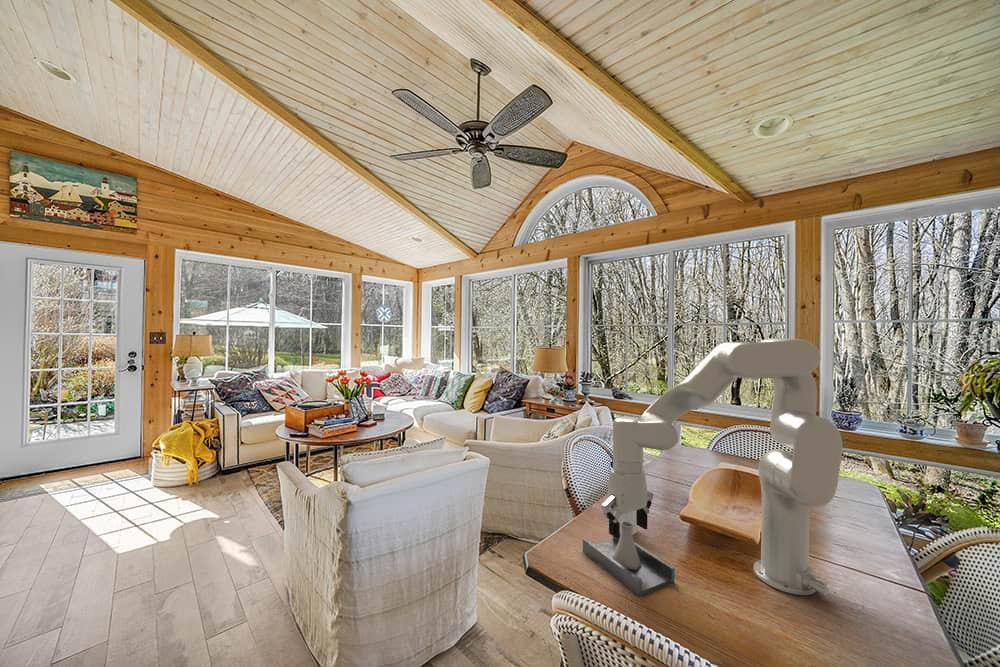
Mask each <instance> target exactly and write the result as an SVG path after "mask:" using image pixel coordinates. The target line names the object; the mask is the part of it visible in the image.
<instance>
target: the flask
mask: <svg viewBox="0 0 1000 667" xmlns="http://www.w3.org/2000/svg"><path fill="white" fill-rule="evenodd" d="M621 526H622V532H621V537H620V539H619V542H618V545H617V547H616V550H615V552H614V554H613V557H612V558H613V559H614V560H616V561H617V562H618V563H620V564H621V565H622V566H624V567H625V568H626V569H634V570H637V569H638V568H639V567H640V566H641V562H640V559H639V556H638V553H637V550H636V547H635V543H636V542H635V540H634V535H633V534H632V528H633V527H634V525H633V523H631V522H629V521H622V522H621ZM634 542H635V543H634Z"/></svg>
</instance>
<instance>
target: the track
mask: <svg viewBox="0 0 1000 667" xmlns="http://www.w3.org/2000/svg"><path fill="white" fill-rule="evenodd" d="M620 537H621V533H620ZM620 537H619V538H618V539H617V538H615V537H614V536H612V539H610V540H606V541H603V542H599V543H596V544H594V543H592V541H590V540H589V539H587V538H583V539H582V553H583V552H584V554H585V555H586V556H587V557H588V556H589V557H588V558H590V559H591V560H592V561H593V562H594V563H596V564H598V566H599V567H601V568H602V569H603V570H604V571H606V572H607V573H609V575H611V576H612V577H613V578H614V579H616V580H617V581H619V582H620V583H621V584H622V585H624V586H625V587H626V588H627V589H628V590H629V591H631V592H632V593H634V594H635V595H636V596H637V597H642V596H644V595H645V594H646V595H647V594H648V593H652V592H654V591H657V590H659V589H661V588H663V587H666V586H668V585H669V586H670V585H671V584H673V583H675V581H676V580H675V574H676V568H675V567H674V566H673V565H672V564H670V563H668V562H667V561H665V560H663V559H661V557H659V556H658V555H656V554H654V553H652V552H651V551H650V550H648V549H646V548H645V547H643V546H641V545H640V544H638V542H635V541H634V543H635V547H636V550H637V553H638V556H639V559H640V562H641V566H640V567H639V568H638V569H637V570H634V569H626V568H625V567H624V566H622V565H621V564H620V563H618V562H617V561H616V560H614V559H613V558H612V557H613V554H614V552H615V550H616V547H617V545H618V542H619V539H620Z"/></svg>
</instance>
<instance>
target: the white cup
mask: <svg viewBox="0 0 1000 667" xmlns="http://www.w3.org/2000/svg"><path fill="white" fill-rule="evenodd" d="M616 509H618V508H617V507H616ZM638 510H639V509H638ZM636 511H637V510H635V511H631V512H628V513H624V514H621V516H620V518H619V520H618V522H619V523H620V533H621V532H622V526H621V522H622V521H629V522H631V523H633V525H634V527H633V528H632V534H633V536H634V535H636V534H637V533H638V525H637V521H636ZM615 514H616V511H615V512H614V514H613V515H614V516H615Z"/></svg>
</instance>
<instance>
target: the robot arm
mask: <svg viewBox="0 0 1000 667" xmlns="http://www.w3.org/2000/svg"><path fill="white" fill-rule="evenodd" d="M821 357H822V356H821V352H820V350H819V348H818V347H817V346H816V345H815V344H814V343H812V342H811V341H808V340H805V339H803V338H802V339H801V338H779V337H777V338H774V337H773V338H766V339H762V340H760V341H759V342H758V341H757V342H753V341H752V342H739V341H726V342H723V343H720V344H718V345H716V346H715V347H714V348H713V349H712V350H711V351H710V352H708V354H707V355H706V357H704V358H703V359H702V360H701V361H700V363H698V364H697V366H696V367H695V368H694V369H693V370H692V371H691V372H690V373H689V374H688V375H687V376H686V377H685V378H684V379H683V380H682V381H681V382H678V383H677V384H676V385H675V386H674V387H672V388H670V389H669V390H668V391H666V392H664V393H663V394H662V395H660V396H659V397H658V398H657V399H656V400H655V401H654V402H653V403H651V405H650V406H649V407H648V408H647V409H646V410H645V411H644V412H643V413H642V414H641V416H640V417H639V418H638V417H633V416H618V417H616V418H614V419H613V421H612V470H610V473H609V477H608V484H607V485H608V486H607V499H606V500H605V501H604V502H603V503H602V504H601V506H600V507H601V510H602V512H603V515H604V516H605V517H606V519H608V533H609V535H611V536H612V537H613V536H614V537H615V538H617V539H618V538H619V537H620V523H619V522H618V520H619V518H620V516H621V514H624V513H628V512H631V511H635V510H637V511H636V521H637V525H638V526H639V527H640V528H641V529H644V530H648V514H649V513H650V507H652V502H653V498H654V493H653V492H650V491H648V489H647V488H648V485H647V478H646V474H645V470H644V463H645V460H644V449H649V450H655V451H669V450H672V449H674V447H676V445H678V442H679V439H680V438H679V433H678V430H677V428H676V427H675V426H674V425H673V423H674V422H676V421H677V419H679V418H680V417H681V416H683V415H685V414H687V413H688V412H690V411H693V410H697V409H701V408H705V407H708V406H710V405H712V404H713V403H715V401H716V400H717V399H718V398H719V397H720V396H721V395H722V394H723V393H725V391H726V390H727V389H728V387H729V386H731V385H732V384H733V383H734V382H735V381H736V380H737V379H738V378H739V379H744V380H745V379H746V380H747V379H748V380H749V379H750V380H755V379H756V380H759V379H760V380H761V379H771V380H772V384H773V389H774V392H773V401H772V409H771V417H770V422H769V424H770V425H769V432H770V435H771V437H772V438H773V440H774V441H776V442H777V443H779V444H780V445H782V446H784V447H787V448H788V449H791V450H792V452H791V451H788V450H784V449H772V450H769V451H767V452H765V453H763V455H762V456H761V457H760V459H759V462H758V477H759V482H760V488H761V533H760V534H761V536H760V537H761V539H760V542H761V544H760V547H761V548H760V560H757V561H755V562H754V563H753V572H754V574H755V575H756V577H758V579H759V580H761V581H762V582H764V584H767V585H768V586H770V587H772V588H773V589H776V590H779V591H781V592H784V593H788V594H793V595H797V596H811V595H813V594H815V593H816V592H817V593H819V594H821V595H823V596H825V597H826V596H828V594H829V587H828V586H827V585H828V582H826V581H825V580H823V579H819V578H817V577H816V575H815V574H814V572H815V571H814V570H815V569H814V568H812V567H811V566H809V565H810V564H809V563H810V562H809V559H810V558H809V557H810V556H809V555H810V508H822V507H824V506H826V505H828V504H829V503H830V502H831V501H833V499H834V498H835V494H836V493H837V488H838V484H839V478H840V477H839V476H840V469H841V463H842V456H843V455H842V454H843V445H844V444H843V438H842V435H841V432H840V430H839V429H838V427H837V426H836V425H835V424H834V423H833V422H831V421H830V420H829V419H827V418H825V417H822V416H819V415H817V406H818V405H817V404H818V387H817V382H816V381H815V377H814V376H813V372H814V371H815V370H816V369H817V368H818V367H819V364H820V362H821V360H822V359H821ZM616 507H617V508H618V509H616ZM809 507H810V508H809ZM638 509H639V510H638ZM615 511H616V514H615V516H614V515H613V514H614V512H615Z"/></svg>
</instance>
